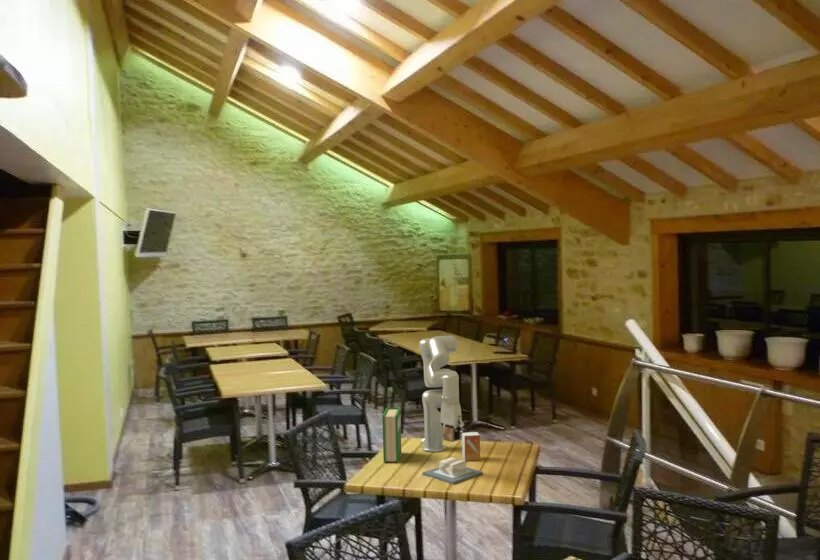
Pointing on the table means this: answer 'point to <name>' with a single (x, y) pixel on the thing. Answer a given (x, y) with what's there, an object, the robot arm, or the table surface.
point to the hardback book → (392, 434)
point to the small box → (471, 446)
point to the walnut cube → (449, 433)
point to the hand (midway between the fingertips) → (451, 437)
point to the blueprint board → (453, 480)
